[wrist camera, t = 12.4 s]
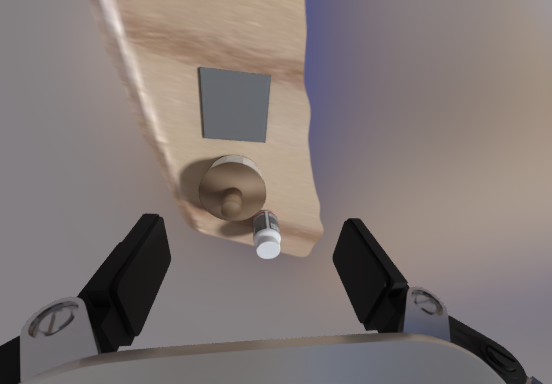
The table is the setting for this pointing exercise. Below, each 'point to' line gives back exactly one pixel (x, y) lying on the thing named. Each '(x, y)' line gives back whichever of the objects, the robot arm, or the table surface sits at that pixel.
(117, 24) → the table surface
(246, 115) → the mat
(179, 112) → the table surface
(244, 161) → the bowl
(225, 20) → the table surface
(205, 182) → the lid
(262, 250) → the pill bottle
